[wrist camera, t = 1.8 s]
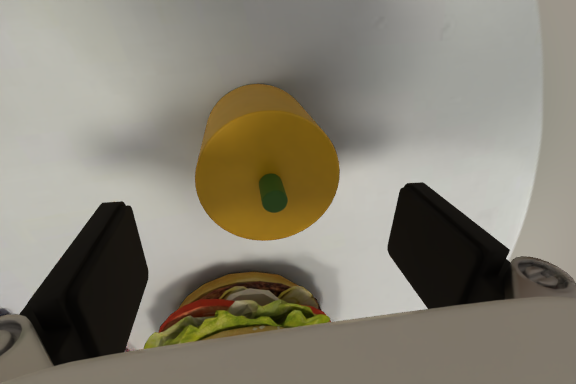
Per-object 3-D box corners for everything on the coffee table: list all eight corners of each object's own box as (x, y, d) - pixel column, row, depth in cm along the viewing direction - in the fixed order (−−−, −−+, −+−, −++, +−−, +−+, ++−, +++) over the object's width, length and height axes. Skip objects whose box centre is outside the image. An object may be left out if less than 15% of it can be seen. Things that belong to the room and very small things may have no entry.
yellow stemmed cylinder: (199, 83, 16) (177, 124, 9) (312, 83, 17) (363, 120, 10) (211, 186, 19) (201, 271, 12) (306, 181, 20) (343, 257, 13)
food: (146, 255, 21) (104, 369, 14) (337, 258, 24) (380, 353, 17) (154, 374, 27) (128, 493, 20) (304, 364, 30) (325, 464, 23)
